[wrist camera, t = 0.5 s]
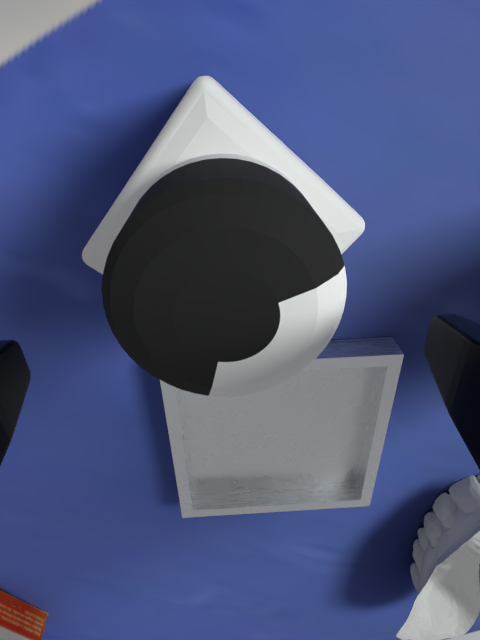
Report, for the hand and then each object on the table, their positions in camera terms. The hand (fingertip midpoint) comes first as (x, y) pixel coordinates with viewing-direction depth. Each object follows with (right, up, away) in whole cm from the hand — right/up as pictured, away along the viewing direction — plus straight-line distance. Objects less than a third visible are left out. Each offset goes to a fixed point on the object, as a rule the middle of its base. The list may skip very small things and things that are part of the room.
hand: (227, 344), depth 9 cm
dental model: (+22, -17, +27) cm, 39 cm away
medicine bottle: (-1, +7, +11) cm, 13 cm away
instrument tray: (+3, -7, +19) cm, 20 cm away
